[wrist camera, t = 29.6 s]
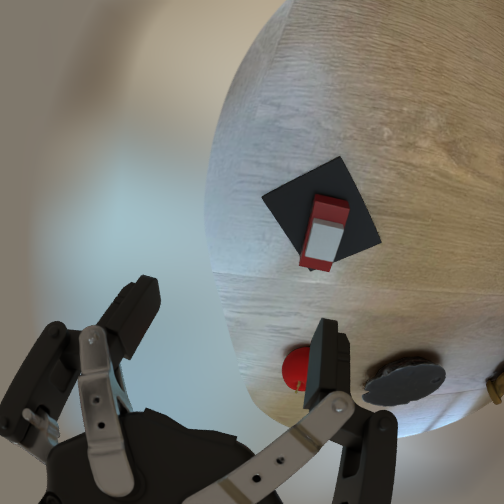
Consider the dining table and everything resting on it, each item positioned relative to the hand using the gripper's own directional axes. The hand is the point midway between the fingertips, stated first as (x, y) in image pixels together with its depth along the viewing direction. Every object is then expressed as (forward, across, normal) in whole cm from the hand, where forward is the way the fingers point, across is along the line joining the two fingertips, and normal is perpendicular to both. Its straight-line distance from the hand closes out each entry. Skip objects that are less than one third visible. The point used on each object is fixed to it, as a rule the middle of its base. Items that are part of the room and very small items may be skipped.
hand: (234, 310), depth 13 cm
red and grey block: (+23, -7, +14) cm, 28 cm away
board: (+26, -38, +42) cm, 62 cm away
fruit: (+26, -12, +39) cm, 48 cm away
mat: (+26, -7, +8) cm, 28 cm away
